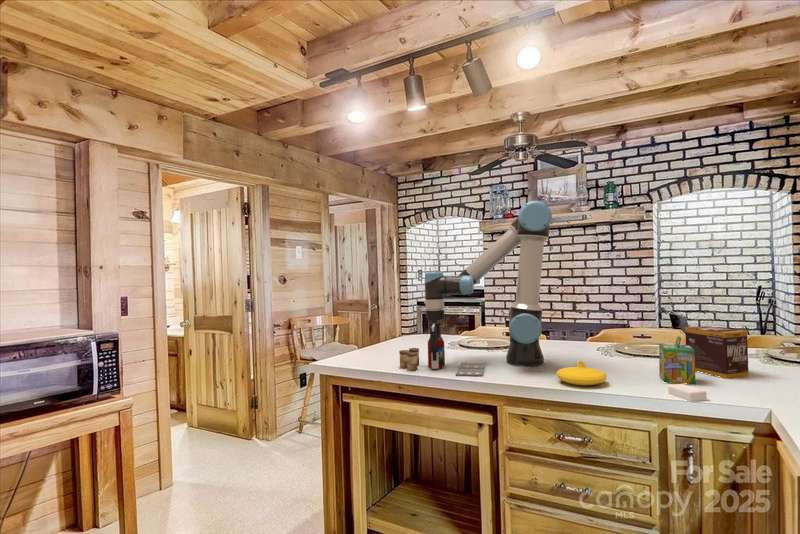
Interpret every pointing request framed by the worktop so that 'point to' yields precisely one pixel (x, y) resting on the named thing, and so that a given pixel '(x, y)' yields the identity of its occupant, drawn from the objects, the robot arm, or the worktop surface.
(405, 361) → the jar
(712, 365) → the supplement box
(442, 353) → the beverage can
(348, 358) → the worktop surface
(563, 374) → the yellow lidded dish
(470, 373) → the pad three
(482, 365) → the pad two
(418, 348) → the jar
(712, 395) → the worktop surface
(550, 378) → the worktop surface
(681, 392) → the soap
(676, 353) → the chalk box
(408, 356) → the jar
